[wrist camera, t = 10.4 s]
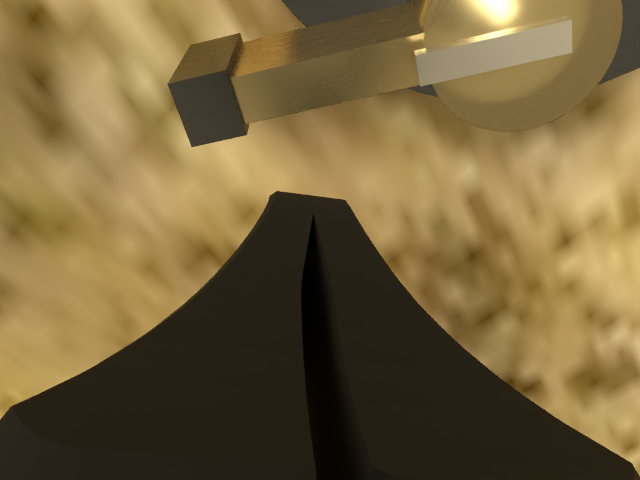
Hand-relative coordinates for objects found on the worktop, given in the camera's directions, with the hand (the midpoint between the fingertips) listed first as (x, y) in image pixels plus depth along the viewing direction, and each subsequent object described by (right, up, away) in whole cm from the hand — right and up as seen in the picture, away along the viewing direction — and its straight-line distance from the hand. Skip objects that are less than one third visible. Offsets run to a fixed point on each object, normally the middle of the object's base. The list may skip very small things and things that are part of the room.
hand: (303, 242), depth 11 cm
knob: (+2, +5, +3) cm, 6 cm away
